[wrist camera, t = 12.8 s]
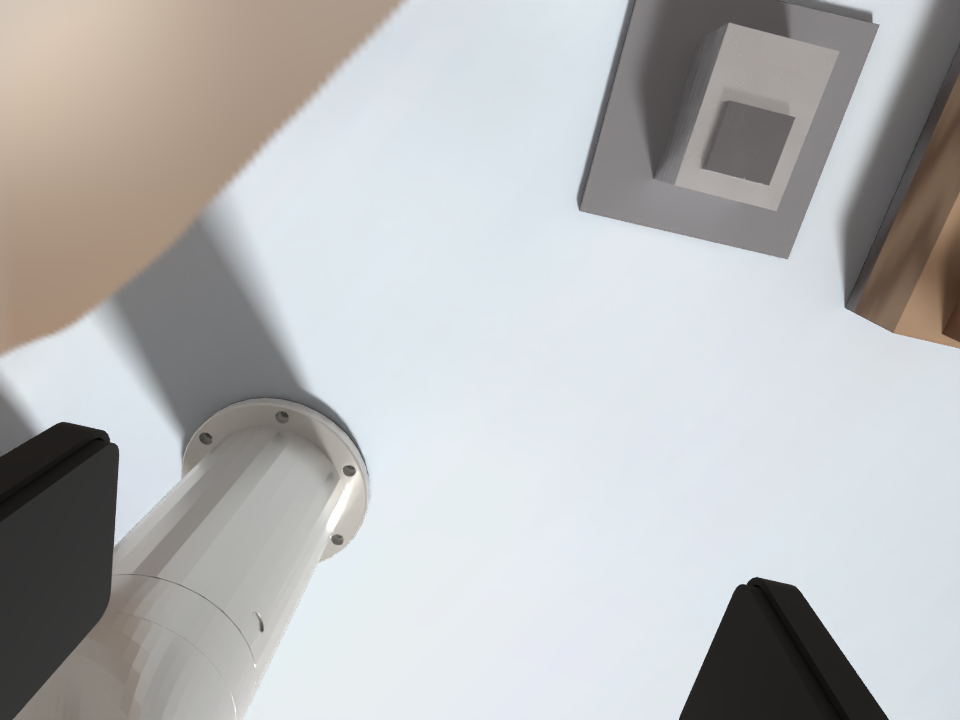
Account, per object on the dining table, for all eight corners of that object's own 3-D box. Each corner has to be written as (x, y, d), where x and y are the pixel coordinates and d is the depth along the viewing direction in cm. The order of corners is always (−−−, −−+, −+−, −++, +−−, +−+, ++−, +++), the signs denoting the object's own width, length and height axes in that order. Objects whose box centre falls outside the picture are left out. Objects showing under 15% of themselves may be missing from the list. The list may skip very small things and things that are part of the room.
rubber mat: (783, 257, 36) (787, 259, 35) (579, 209, 35) (579, 211, 35) (873, 26, 32) (879, 24, 31) (642, -28, 31) (645, -32, 31)
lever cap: (741, 201, 34) (781, 212, 29) (653, 179, 34) (677, 186, 29) (792, 64, 32) (846, 49, 27) (698, 40, 32) (733, 20, 26)
